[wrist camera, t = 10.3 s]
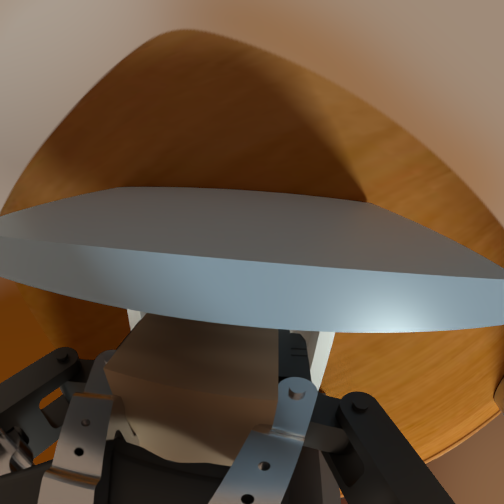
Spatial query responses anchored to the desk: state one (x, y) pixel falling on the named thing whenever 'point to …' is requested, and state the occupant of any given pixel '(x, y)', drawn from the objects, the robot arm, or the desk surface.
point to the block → (195, 386)
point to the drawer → (253, 262)
